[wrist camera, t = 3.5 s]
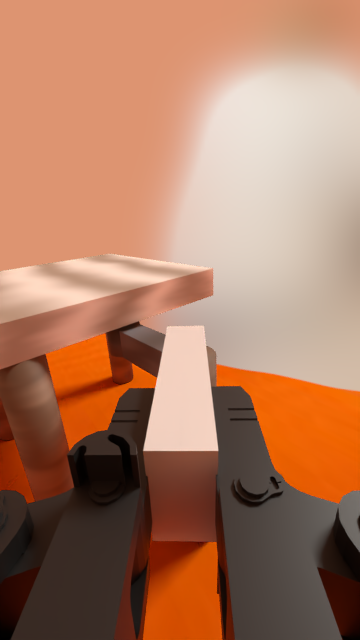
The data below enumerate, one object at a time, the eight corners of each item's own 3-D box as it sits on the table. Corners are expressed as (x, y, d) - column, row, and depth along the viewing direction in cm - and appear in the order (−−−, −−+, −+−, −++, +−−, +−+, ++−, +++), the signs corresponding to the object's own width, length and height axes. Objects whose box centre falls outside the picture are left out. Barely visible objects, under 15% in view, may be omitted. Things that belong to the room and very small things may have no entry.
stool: (126, 370, 45) (110, 253, 38) (214, 427, 32) (212, 268, 26) (-4, 431, 34) (-58, 280, 27) (54, 553, 21) (-19, 328, 15)
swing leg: (120, 465, 28) (97, 326, 22) (145, 448, 30) (129, 315, 24) (198, 550, 21) (191, 373, 15) (225, 520, 22) (226, 353, 17)
